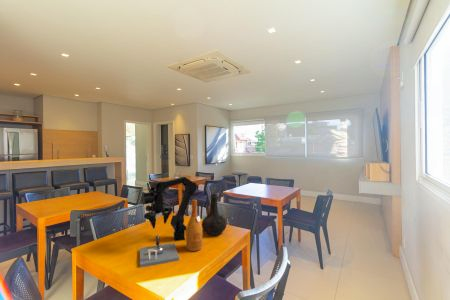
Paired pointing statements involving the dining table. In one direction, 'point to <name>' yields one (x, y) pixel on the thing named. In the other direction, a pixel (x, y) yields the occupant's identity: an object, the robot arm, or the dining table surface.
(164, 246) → the stand
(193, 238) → the brown tall rounded piece
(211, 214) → the glass bottle
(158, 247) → the grey metal rounded piece
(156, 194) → the robot arm
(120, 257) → the dining table surface
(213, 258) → the dining table surface
